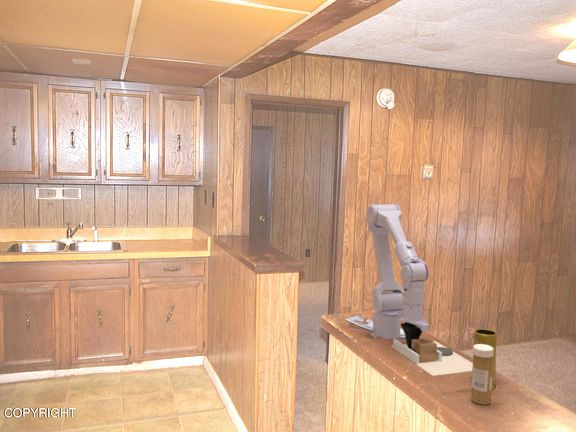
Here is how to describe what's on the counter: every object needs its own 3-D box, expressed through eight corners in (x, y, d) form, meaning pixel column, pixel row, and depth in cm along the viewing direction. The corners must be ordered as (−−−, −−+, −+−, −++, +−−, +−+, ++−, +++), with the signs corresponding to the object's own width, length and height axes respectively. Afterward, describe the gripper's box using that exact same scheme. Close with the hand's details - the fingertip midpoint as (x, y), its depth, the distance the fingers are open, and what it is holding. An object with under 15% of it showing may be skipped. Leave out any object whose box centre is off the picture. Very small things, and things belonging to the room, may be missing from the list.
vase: (465, 382, 132) (467, 329, 130) (484, 379, 134) (486, 327, 133) (482, 392, 126) (484, 337, 125) (501, 389, 128) (504, 334, 127)
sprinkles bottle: (495, 402, 121) (497, 347, 120) (483, 407, 118) (485, 351, 117) (478, 395, 125) (481, 342, 123) (466, 399, 122) (469, 345, 121)
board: (390, 350, 155) (390, 345, 154) (435, 345, 159) (435, 341, 159) (432, 381, 133) (432, 375, 132) (482, 374, 137) (483, 369, 137)
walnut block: (411, 356, 146) (411, 339, 145) (426, 354, 147) (427, 338, 147) (420, 363, 141) (421, 345, 141) (436, 361, 142) (436, 343, 142)
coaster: (427, 349, 151) (427, 348, 151) (445, 347, 153) (445, 346, 153) (438, 357, 146) (439, 355, 145) (457, 354, 147) (457, 353, 147)
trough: (393, 347, 153) (393, 339, 153) (416, 344, 155) (416, 337, 155) (416, 364, 140) (416, 355, 140) (441, 361, 142) (442, 352, 142)
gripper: (389, 297, 155) (388, 340, 156) (414, 310, 141) (412, 358, 142) (409, 296, 157) (408, 338, 158) (436, 308, 143) (434, 355, 144)
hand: (411, 347), depth 150 cm, fingers closed
